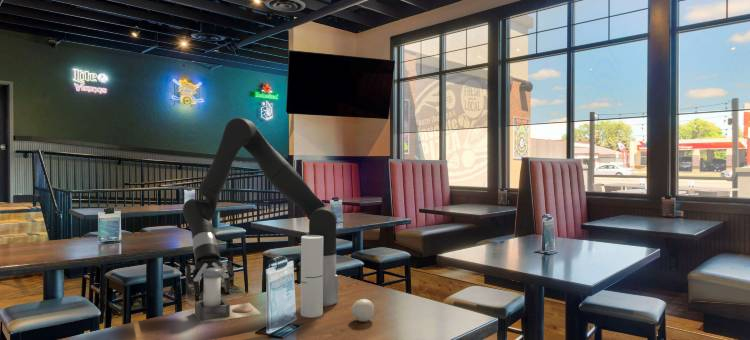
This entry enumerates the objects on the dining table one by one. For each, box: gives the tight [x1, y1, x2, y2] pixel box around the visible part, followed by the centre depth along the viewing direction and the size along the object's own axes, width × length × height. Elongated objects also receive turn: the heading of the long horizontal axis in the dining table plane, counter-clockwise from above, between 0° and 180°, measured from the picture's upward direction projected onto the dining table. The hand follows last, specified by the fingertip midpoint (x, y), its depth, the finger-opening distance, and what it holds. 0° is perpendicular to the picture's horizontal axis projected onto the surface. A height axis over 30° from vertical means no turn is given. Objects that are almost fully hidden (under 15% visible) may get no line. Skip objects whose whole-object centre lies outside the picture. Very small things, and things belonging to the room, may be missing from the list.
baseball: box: [350, 298, 375, 323], centre depth 143 cm, size 7×7×7 cm
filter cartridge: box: [202, 268, 223, 308], centre depth 143 cm, size 5×5×14 cm
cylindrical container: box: [300, 234, 324, 318], centre depth 149 cm, size 7×7×25 cm
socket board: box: [192, 297, 262, 325], centre depth 145 cm, size 18×13×5 cm
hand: (213, 292), depth 141 cm, fingers open, 8 cm apart
